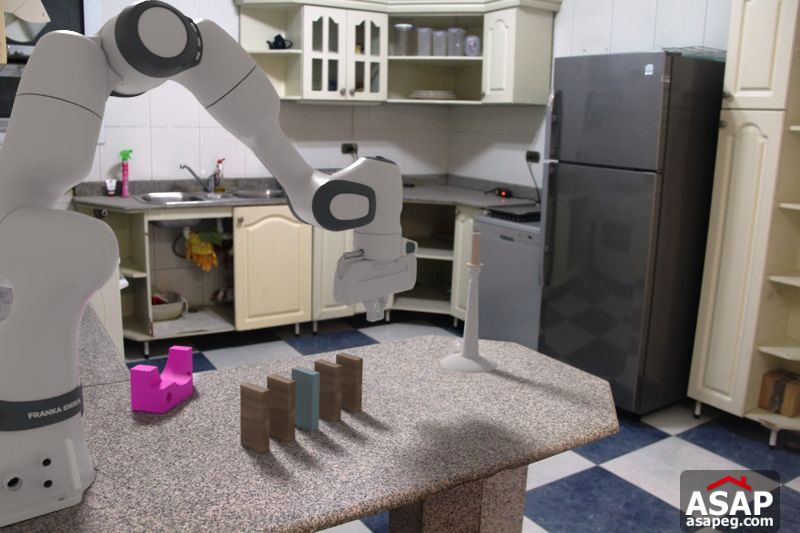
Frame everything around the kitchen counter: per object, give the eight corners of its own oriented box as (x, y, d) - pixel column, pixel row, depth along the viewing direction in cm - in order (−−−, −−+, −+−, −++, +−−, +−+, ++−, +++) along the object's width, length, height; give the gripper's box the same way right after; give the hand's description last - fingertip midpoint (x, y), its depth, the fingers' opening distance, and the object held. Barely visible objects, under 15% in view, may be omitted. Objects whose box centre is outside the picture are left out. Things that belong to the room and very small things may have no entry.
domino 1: (261, 453, 112) (261, 392, 110) (240, 444, 115) (240, 384, 113) (269, 450, 114) (269, 389, 112) (248, 441, 117) (248, 382, 115)
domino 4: (334, 422, 125) (335, 367, 123) (313, 415, 128) (314, 361, 126) (340, 420, 126) (341, 365, 125) (320, 412, 129) (320, 359, 128)
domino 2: (287, 442, 117) (288, 383, 115) (266, 433, 120) (266, 376, 118) (295, 439, 118) (295, 381, 116) (274, 431, 121) (274, 373, 119)
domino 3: (297, 421, 125) (298, 366, 123) (318, 429, 122) (319, 372, 120) (291, 424, 124) (291, 368, 122) (311, 432, 121) (312, 375, 119)
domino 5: (355, 413, 129) (357, 360, 128) (335, 406, 132) (336, 354, 131) (361, 411, 131) (362, 358, 129) (341, 404, 134) (342, 352, 132)
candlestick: (494, 380, 150) (503, 236, 145) (434, 372, 153) (440, 232, 148) (502, 362, 162) (510, 229, 157) (446, 355, 166) (452, 225, 160)
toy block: (163, 413, 127) (162, 372, 126) (131, 409, 128) (130, 369, 127) (204, 385, 141) (203, 348, 140) (175, 382, 143) (174, 345, 141)
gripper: (352, 256, 122) (350, 335, 125) (423, 242, 138) (420, 313, 141) (324, 251, 126) (324, 328, 128) (397, 238, 142) (395, 307, 144)
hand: (375, 320), depth 135 cm, fingers closed
